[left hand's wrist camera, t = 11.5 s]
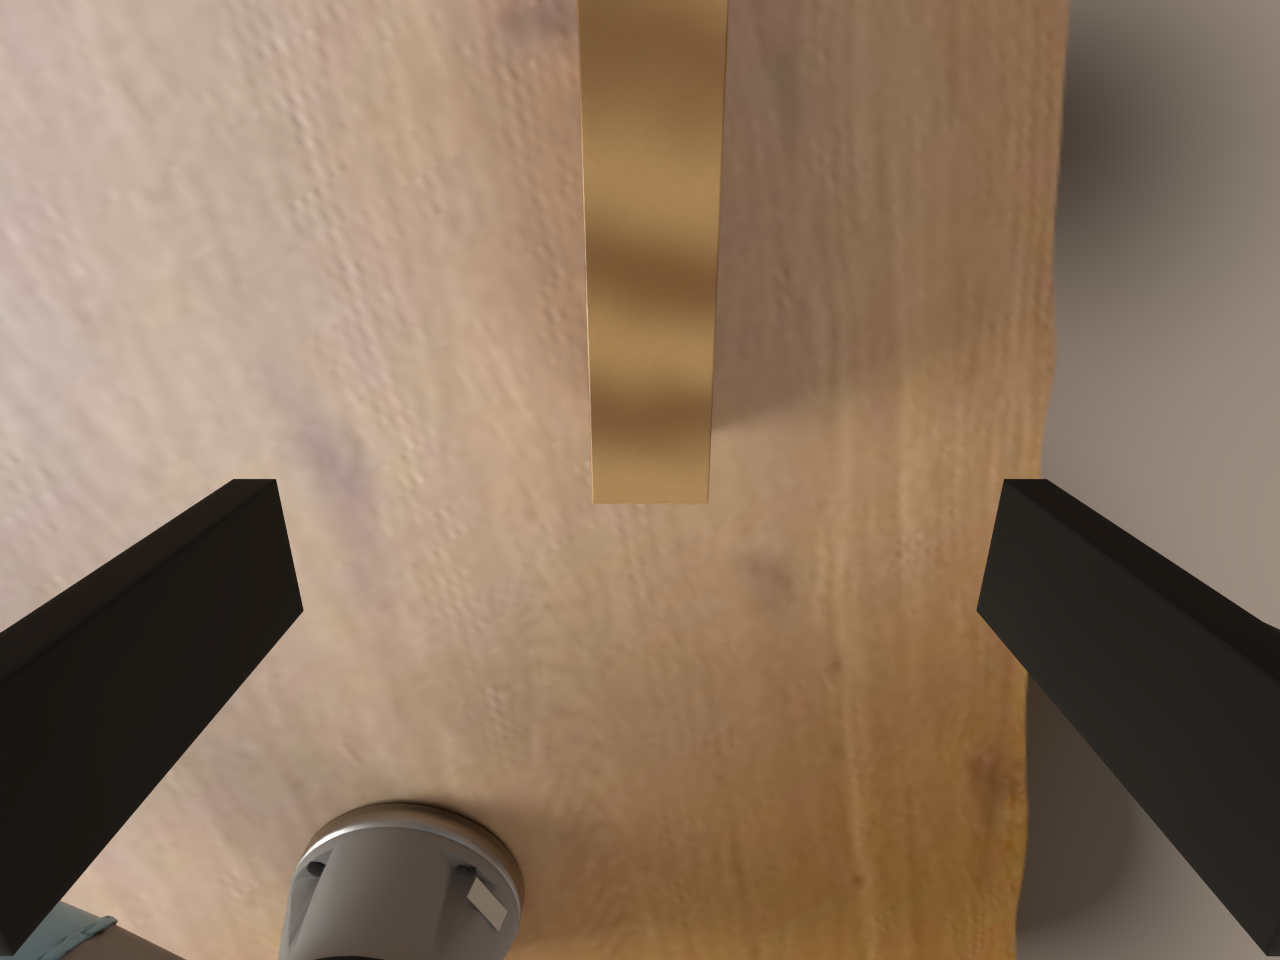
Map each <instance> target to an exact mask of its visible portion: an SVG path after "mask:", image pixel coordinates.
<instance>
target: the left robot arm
mask: <svg viewBox="0 0 1280 960" xmlns="http://www.w3.org/2000/svg"><path fill="white" fill-rule="evenodd" d="M302 612H303V606H302V601H301V596H300V592H299V587H298V582H297V577H296V573H295V568H294V563H293V558H292V554H291V549H290V544H289V539H288V534H287V530H286V525H285V520H284V515H283V511H282V506H281V501H280V496H279V492H278V487H277V482H276V479H233V480H231V481H230V482H228V483H227V484H225V485H224V486H222V487H221V488H219V489H218V490H216V491H215V492H213V493H212V494H210V495H209V496H207V497H206V498H204V499H203V500H201V501H200V502H198V503H197V504H195V505H194V506H192V507H190V508H189V509H187V510H186V511H184V512H183V513H181V514H180V515H178V516H177V517H175V518H174V519H172V520H171V521H169V522H168V523H166V524H165V525H163V526H162V527H160V528H159V529H157V530H156V531H154V532H153V533H151V534H150V535H148V536H147V537H145V538H144V539H142V540H141V541H139V542H138V543H136V544H134V545H133V546H131V547H130V548H128V549H127V550H125V551H124V552H122V553H121V554H119V555H118V556H116V557H115V558H113V559H112V560H110V561H109V562H107V563H106V564H104V565H103V566H101V567H100V568H98V569H97V570H95V571H94V572H92V573H91V574H89V575H88V576H86V577H85V578H83V579H81V580H80V581H78V582H77V583H75V584H74V585H72V586H71V587H69V588H68V589H66V590H65V591H63V592H62V593H60V594H59V595H57V596H56V597H54V598H53V599H51V600H50V601H48V602H47V603H45V604H44V605H42V606H41V607H39V608H38V609H36V610H35V611H33V612H32V613H30V614H28V615H27V616H25V617H24V618H22V619H21V620H19V621H18V622H16V623H15V624H13V625H12V626H10V627H9V628H7V629H6V630H4V631H3V632H1V633H0V960H185V959H183V958H181V957H179V956H177V955H175V954H173V953H171V952H169V951H167V950H165V949H163V948H161V947H159V946H157V945H155V944H153V943H151V942H149V941H147V940H145V939H143V938H141V937H139V936H137V935H135V934H133V933H131V932H129V931H127V930H125V929H123V928H121V927H119V926H117V925H116V923H117V922H118V920H117V919H115V918H114V917H112V916H105V917H102V918H100V917H98V916H95V915H93V914H91V913H88V912H86V911H83V910H81V909H79V908H76V907H74V906H71V905H69V904H67V903H64V902H62V901H60V900H61V899H62V897H63V896H64V895H65V894H66V893H67V891H68V890H69V889H70V888H71V887H72V885H73V884H74V883H75V882H76V881H77V880H78V878H79V877H80V876H81V875H82V874H83V872H84V871H85V870H86V869H87V868H88V866H89V865H90V864H91V863H92V862H93V860H94V859H95V858H96V857H97V856H98V855H99V853H100V852H101V851H102V850H103V849H104V847H105V846H106V845H107V844H108V843H109V841H110V840H111V839H112V838H113V837H114V836H115V834H116V833H117V832H118V831H119V830H120V828H121V827H122V826H123V825H124V824H125V822H126V821H127V820H128V819H129V818H130V816H131V815H132V814H133V813H134V812H135V811H136V809H137V808H138V807H139V806H140V805H141V803H142V802H143V801H144V800H145V799H146V797H147V796H148V795H149V794H150V793H151V792H152V790H153V789H154V788H155V787H156V786H157V784H158V783H159V782H160V781H161V780H162V778H163V777H164V776H165V775H166V774H167V772H168V771H169V770H170V769H171V768H172V767H173V765H174V764H175V763H176V762H177V761H178V759H179V758H180V757H181V756H182V755H183V753H184V752H185V751H186V750H187V749H188V748H189V746H190V745H191V744H192V743H193V742H194V740H195V739H196V738H197V737H198V736H199V734H200V733H201V732H202V731H203V730H204V728H205V727H206V726H207V725H208V724H209V723H210V721H211V720H212V719H213V718H214V717H215V715H216V714H217V713H218V712H219V711H220V709H221V708H222V707H223V706H224V705H225V704H226V702H227V701H228V700H229V699H230V698H231V696H232V695H233V694H234V693H235V692H236V690H237V689H238V688H239V687H240V686H241V684H242V683H243V682H244V681H245V680H246V679H247V677H248V676H249V675H250V674H251V673H252V671H253V670H254V669H255V668H256V667H257V665H258V664H259V663H260V662H261V661H262V660H263V658H264V657H265V656H266V655H267V654H268V652H269V651H270V650H271V649H272V648H273V646H274V645H275V644H276V643H277V642H278V640H279V639H280V638H281V637H282V636H283V635H284V633H285V632H286V631H287V630H288V629H289V627H290V626H291V625H292V624H293V623H294V621H295V620H296V619H297V618H298V617H299V616H300V614H301V613H302ZM977 612H978V613H979V614H980V616H981V617H982V618H983V619H984V620H985V621H986V623H987V624H988V625H989V626H990V627H991V629H992V630H993V631H994V632H995V633H996V635H997V636H998V637H999V638H1000V639H1001V640H1002V642H1003V643H1004V644H1005V645H1006V646H1007V648H1008V649H1009V650H1010V651H1011V652H1012V654H1013V655H1014V656H1015V657H1016V658H1017V660H1018V661H1019V662H1020V663H1021V664H1022V665H1023V667H1024V668H1025V669H1026V670H1027V671H1028V673H1029V674H1030V675H1031V676H1032V677H1033V678H1034V680H1035V681H1036V682H1037V683H1038V684H1039V686H1040V687H1041V688H1042V689H1043V690H1044V692H1045V693H1046V694H1047V695H1048V696H1049V698H1050V699H1051V700H1052V701H1053V702H1054V704H1055V705H1056V706H1057V707H1058V708H1059V709H1060V711H1061V712H1062V713H1063V714H1064V715H1065V717H1066V718H1067V719H1068V720H1069V721H1070V723H1071V724H1072V725H1073V726H1074V727H1075V728H1076V730H1077V731H1078V732H1079V733H1080V734H1081V736H1082V737H1083V738H1084V739H1085V740H1086V742H1087V743H1088V744H1089V745H1090V746H1091V747H1092V749H1093V750H1094V751H1095V752H1096V753H1097V755H1098V756H1099V757H1100V758H1101V759H1102V761H1103V762H1104V763H1105V764H1106V765H1107V767H1108V768H1109V769H1110V770H1111V771H1112V772H1113V774H1114V775H1115V776H1116V777H1117V778H1118V780H1119V781H1120V782H1121V783H1122V784H1123V786H1124V787H1125V788H1126V789H1127V790H1128V791H1129V793H1130V794H1131V795H1132V796H1133V797H1134V799H1135V800H1136V801H1137V802H1138V803H1139V805H1140V806H1141V807H1142V808H1143V809H1144V811H1145V812H1146V813H1147V814H1148V815H1149V816H1150V818H1151V819H1152V820H1153V821H1154V822H1155V824H1156V825H1157V826H1158V827H1159V828H1160V830H1161V831H1162V832H1163V833H1164V834H1165V835H1166V837H1167V838H1168V839H1169V840H1170V841H1171V843H1172V844H1173V845H1174V846H1175V847H1176V849H1177V850H1178V851H1179V852H1180V853H1181V854H1182V856H1183V857H1184V858H1185V859H1186V860H1187V862H1188V863H1189V864H1190V865H1191V866H1192V868H1193V869H1194V870H1195V871H1196V872H1197V873H1198V875H1199V876H1200V877H1201V878H1202V880H1203V881H1204V882H1205V883H1206V884H1207V885H1208V887H1209V888H1210V889H1211V890H1212V891H1213V893H1214V894H1215V895H1216V896H1217V897H1218V899H1219V900H1220V901H1221V902H1222V903H1223V904H1224V906H1225V907H1226V908H1227V909H1228V910H1229V912H1230V913H1231V914H1232V915H1233V916H1234V918H1235V919H1236V920H1237V921H1238V922H1239V923H1240V925H1241V926H1242V927H1243V928H1244V929H1245V931H1246V932H1247V933H1248V934H1249V935H1250V937H1251V938H1252V939H1253V940H1254V941H1255V943H1256V944H1257V945H1258V946H1259V947H1260V948H1261V950H1262V951H1263V952H1264V953H1265V954H1266V956H1280V630H1279V629H1277V628H1275V627H1273V626H1270V625H1268V624H1266V623H1264V622H1262V621H1261V620H1259V619H1258V618H1256V617H1254V616H1253V615H1251V614H1250V613H1248V612H1247V611H1245V610H1244V609H1242V608H1241V607H1239V606H1238V605H1236V604H1235V603H1233V602H1232V601H1230V600H1229V599H1227V598H1226V597H1224V596H1223V595H1221V594H1220V593H1218V592H1217V591H1215V590H1214V589H1212V588H1210V587H1209V586H1208V585H1206V584H1205V583H1203V582H1202V581H1200V580H1199V579H1197V578H1195V577H1194V576H1192V575H1191V574H1189V573H1188V572H1186V571H1185V570H1183V569H1182V568H1180V567H1179V566H1177V565H1176V564H1174V563H1173V562H1171V561H1170V560H1168V559H1167V558H1165V557H1164V556H1162V555H1161V554H1159V553H1158V552H1156V551H1155V550H1153V549H1152V548H1150V547H1149V546H1147V545H1146V544H1144V543H1142V542H1141V541H1139V540H1138V539H1136V538H1135V537H1133V536H1132V535H1130V534H1129V533H1127V532H1126V531H1124V530H1123V529H1121V528H1120V527H1118V526H1117V525H1115V524H1114V523H1112V522H1111V521H1109V520H1108V519H1106V518H1105V517H1103V516H1102V515H1100V514H1099V513H1097V512H1096V511H1094V510H1093V509H1091V508H1090V507H1088V506H1086V505H1085V504H1083V503H1082V502H1080V501H1079V500H1077V499H1076V498H1074V497H1073V496H1071V495H1070V494H1068V493H1067V492H1065V491H1064V490H1062V489H1061V488H1059V487H1058V486H1056V485H1055V484H1053V483H1052V482H1050V481H1049V480H1047V479H1004V482H1003V487H1002V492H1001V496H1000V501H999V506H998V511H997V515H996V520H995V525H994V530H993V534H992V539H991V544H990V549H989V553H988V558H987V563H986V568H985V573H984V577H983V582H982V587H981V592H980V596H979V601H978V606H977ZM523 901H524V884H523V878H522V875H521V872H520V870H519V867H518V865H517V863H516V861H515V860H514V858H513V856H512V855H511V854H510V852H509V851H508V850H507V849H506V848H505V847H504V845H503V844H502V843H501V842H500V841H499V840H497V839H496V838H495V837H494V836H493V835H492V834H490V833H489V832H488V831H486V830H485V829H483V828H482V827H480V826H479V825H477V824H475V823H473V822H471V821H469V820H468V819H466V818H463V817H461V816H459V815H456V814H453V813H451V812H448V811H445V810H441V809H437V808H434V807H428V806H423V805H416V804H403V803H392V804H379V805H372V806H367V807H363V808H359V809H355V810H353V811H350V812H347V813H345V814H343V815H341V816H338V817H337V818H335V819H333V820H332V821H330V822H329V823H327V824H326V825H325V826H323V827H322V828H321V829H320V830H319V831H318V832H317V833H316V834H315V836H314V837H313V838H312V840H311V841H310V843H309V845H308V846H307V848H306V850H305V852H304V854H303V856H302V858H301V859H300V861H299V863H298V865H297V867H296V869H295V871H294V874H293V876H292V880H291V884H290V890H289V896H288V902H287V908H286V913H285V919H284V925H283V931H282V937H281V943H280V949H279V955H278V960H504V958H505V956H506V954H507V953H508V951H509V949H510V947H511V945H512V943H513V941H514V939H515V937H516V935H517V932H518V928H519V923H520V918H521V912H522V907H523Z"/></svg>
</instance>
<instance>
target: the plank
mask: <svg viewBox="0 0 1280 960" xmlns="http://www.w3.org/2000/svg"><path fill="white" fill-rule="evenodd" d="M728 6H729V0H577V17H578V50H579V83H580V115H581V148H582V181H583V214H584V247H585V280H586V312H587V345H588V378H589V411H590V444H591V477H592V502H593V503H594V504H708V499H709V475H710V450H711V425H712V401H713V376H714V351H715V327H716V302H717V277H718V252H719V228H720V203H721V178H722V154H723V129H724V104H725V80H726V55H727V30H728Z"/></svg>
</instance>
